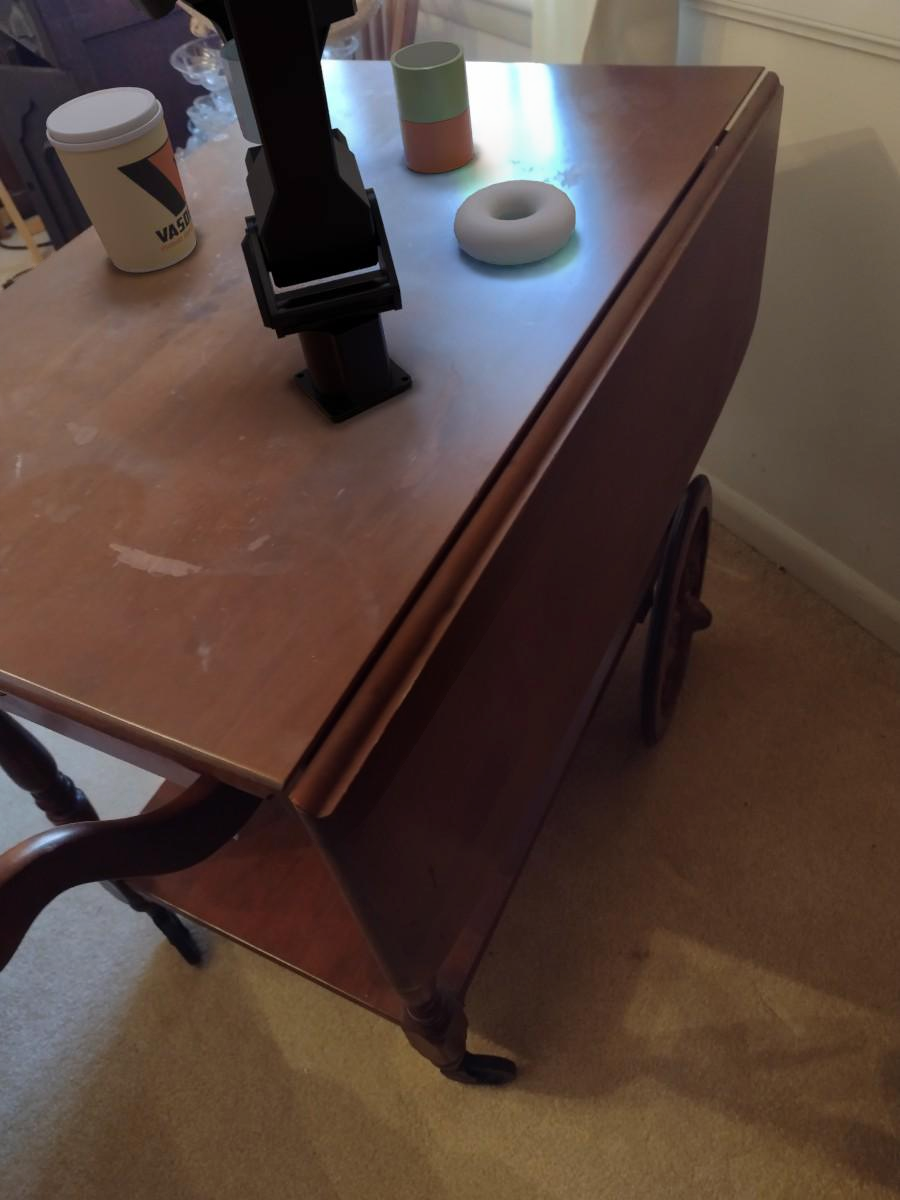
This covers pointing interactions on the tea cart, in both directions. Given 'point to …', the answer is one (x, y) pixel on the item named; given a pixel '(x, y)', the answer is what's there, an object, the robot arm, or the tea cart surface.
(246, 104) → the blue cup
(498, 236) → the donut
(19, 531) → the tea cart surface
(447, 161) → the cup stack
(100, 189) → the coffee cup
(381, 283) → the robot arm
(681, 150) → the tea cart surface
